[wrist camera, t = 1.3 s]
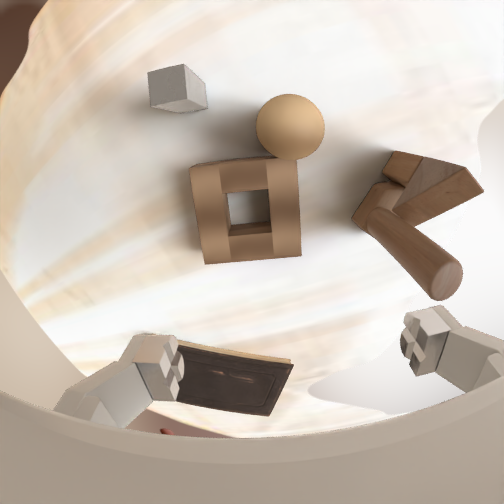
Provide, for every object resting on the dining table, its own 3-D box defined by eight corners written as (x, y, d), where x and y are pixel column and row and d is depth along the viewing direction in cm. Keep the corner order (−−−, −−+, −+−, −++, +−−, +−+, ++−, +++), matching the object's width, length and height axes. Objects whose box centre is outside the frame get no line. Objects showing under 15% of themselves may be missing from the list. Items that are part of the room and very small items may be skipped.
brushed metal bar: (178, 88, 28) (147, 72, 19) (204, 83, 28) (183, 63, 19) (180, 113, 29) (150, 106, 20) (207, 108, 29) (187, 98, 20)
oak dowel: (253, 108, 29) (252, 96, 20) (302, 105, 29) (321, 93, 20) (258, 154, 31) (259, 162, 22) (306, 151, 31) (326, 158, 22)
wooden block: (413, 166, 31) (513, 203, 14) (370, 232, 35) (443, 311, 18) (393, 148, 30) (495, 174, 14) (349, 218, 34) (419, 293, 18)
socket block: (196, 164, 32) (188, 168, 28) (291, 154, 31) (296, 157, 27) (210, 250, 36) (204, 264, 32) (297, 242, 35) (301, 256, 32)
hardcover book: (152, 329, 42) (148, 338, 40) (292, 355, 44) (293, 365, 42) (153, 388, 49) (150, 396, 47) (268, 408, 50) (268, 418, 48)
